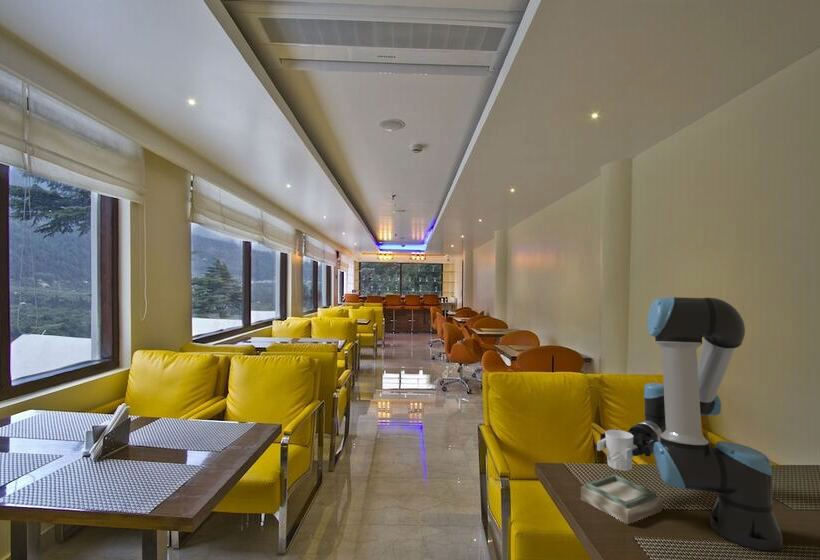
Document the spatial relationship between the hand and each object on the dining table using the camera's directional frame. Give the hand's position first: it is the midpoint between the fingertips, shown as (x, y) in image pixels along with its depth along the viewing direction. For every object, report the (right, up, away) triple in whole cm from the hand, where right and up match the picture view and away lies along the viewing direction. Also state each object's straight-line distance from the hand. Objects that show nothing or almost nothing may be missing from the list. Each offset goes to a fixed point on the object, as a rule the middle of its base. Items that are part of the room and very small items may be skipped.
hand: (611, 450), depth 121 cm
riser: (+4, -18, +2) cm, 19 cm away
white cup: (+4, -6, +3) cm, 8 cm away
